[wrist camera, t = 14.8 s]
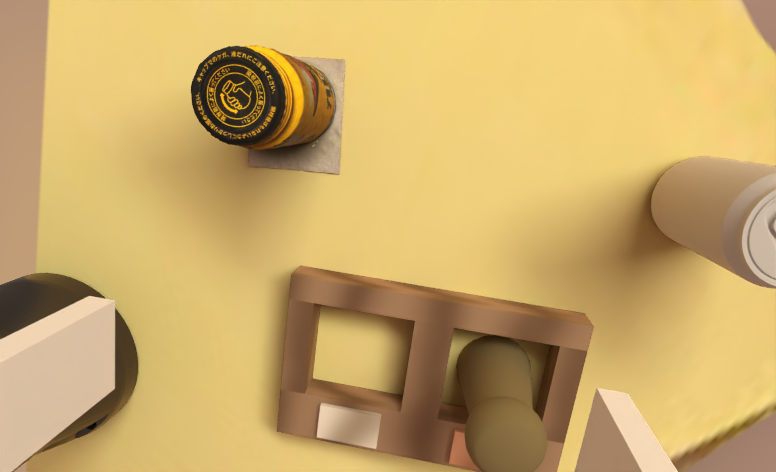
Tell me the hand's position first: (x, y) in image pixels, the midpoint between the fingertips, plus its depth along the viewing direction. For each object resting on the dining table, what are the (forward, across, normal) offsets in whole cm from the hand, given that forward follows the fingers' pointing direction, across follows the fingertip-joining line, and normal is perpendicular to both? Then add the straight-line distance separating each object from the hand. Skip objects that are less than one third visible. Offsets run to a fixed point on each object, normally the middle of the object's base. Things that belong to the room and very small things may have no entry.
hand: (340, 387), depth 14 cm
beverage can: (+27, +20, +4) cm, 34 cm away
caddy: (+27, +3, -13) cm, 30 cm away
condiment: (+27, -10, +6) cm, 29 cm away
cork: (+27, +8, -12) cm, 31 cm away
